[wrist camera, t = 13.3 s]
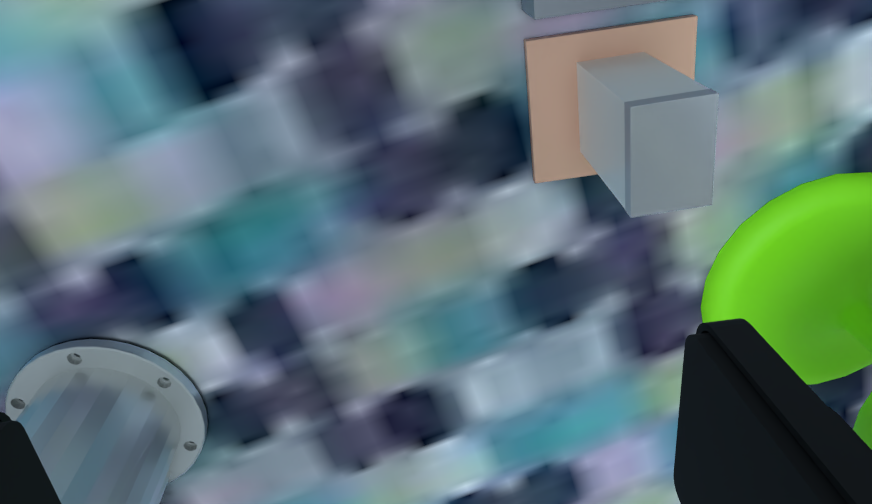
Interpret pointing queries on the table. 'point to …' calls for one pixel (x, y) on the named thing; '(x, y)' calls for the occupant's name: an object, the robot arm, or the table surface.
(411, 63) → the table surface
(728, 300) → the wineglass
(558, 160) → the mat
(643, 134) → the plug
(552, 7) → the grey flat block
